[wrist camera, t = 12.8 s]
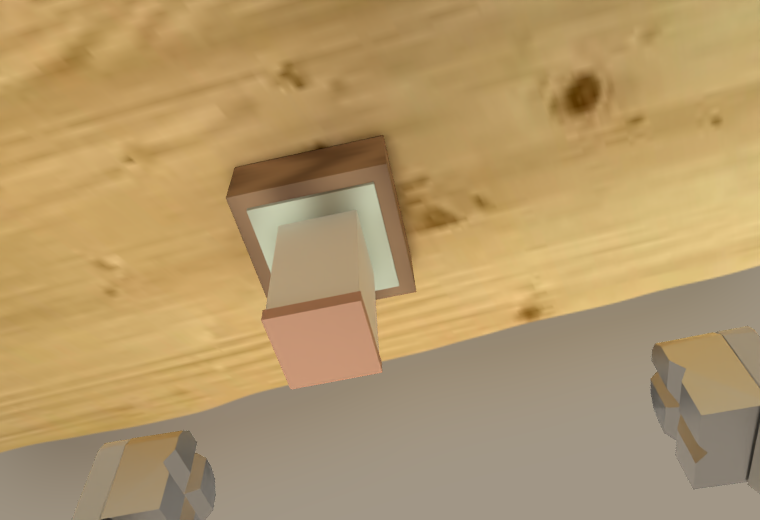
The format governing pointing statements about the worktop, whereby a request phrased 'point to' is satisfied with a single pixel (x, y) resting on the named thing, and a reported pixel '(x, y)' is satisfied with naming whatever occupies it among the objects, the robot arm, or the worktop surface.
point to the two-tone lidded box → (322, 302)
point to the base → (325, 206)
